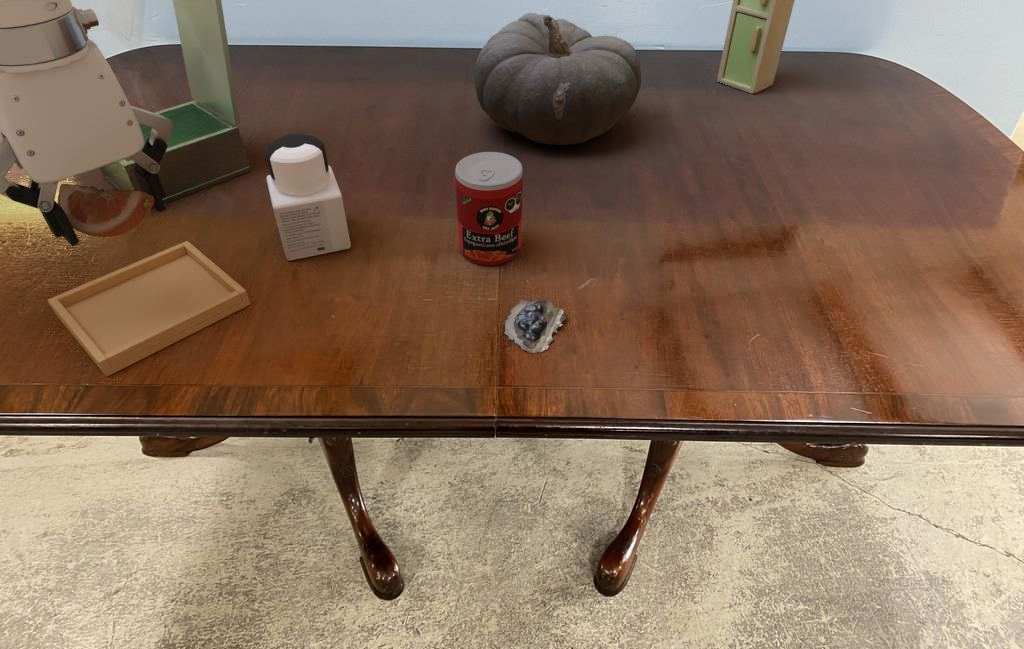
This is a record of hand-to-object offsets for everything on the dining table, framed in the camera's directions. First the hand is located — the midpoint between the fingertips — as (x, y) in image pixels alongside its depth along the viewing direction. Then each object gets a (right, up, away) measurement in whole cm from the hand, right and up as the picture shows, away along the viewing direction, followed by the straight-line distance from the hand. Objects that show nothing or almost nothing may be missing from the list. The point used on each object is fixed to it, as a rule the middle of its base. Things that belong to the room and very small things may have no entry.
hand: (114, 221), depth 66 cm
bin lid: (-3, +27, +24) cm, 36 cm away
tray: (0, -8, +7) cm, 11 cm away
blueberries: (+42, -11, +6) cm, 43 cm away
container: (+15, 0, +18) cm, 23 cm away
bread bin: (-8, +11, +29) cm, 33 cm away
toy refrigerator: (+81, +34, +56) cm, 105 cm away
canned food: (+36, -1, +17) cm, 40 cm away
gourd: (+46, +22, +43) cm, 67 cm away
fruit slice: (0, -1, +1) cm, 2 cm away
